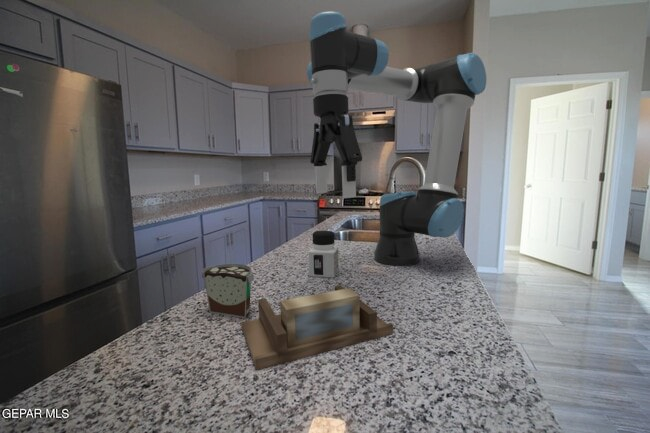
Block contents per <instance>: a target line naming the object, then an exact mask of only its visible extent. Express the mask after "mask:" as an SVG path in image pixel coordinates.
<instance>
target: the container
mask: <svg viewBox="0 0 650 433" xmlns="http://www.w3.org/2000/svg"><path fill="white" fill-rule="evenodd" d="M307 256H308V276H309V277H312V278H313V277H314V278H315V277H316V278H330V279H331V278H335V277H336V276H337V273H338V271H339V245H335V233H334V231H331V230H328V229H320V230H316V231H313V233H312V247H311V248H310V249H309V250H308V254H307Z"/></svg>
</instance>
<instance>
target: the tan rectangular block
mask: <svg viewBox="0 0 650 433" xmlns="http://www.w3.org/2000/svg"><path fill="white" fill-rule="evenodd" d="M360 300H361V299H360V294H359V293H357V292H356V291H354V290H353V289H352V288H350V287H349V288H345V289H342V290H336V291H335V290H331V291H327V292H322V293H321V292H320V293H316V294H312V295H311V294H310V295H305V296H299V297H294V298H290V299H284V300H280V301H279V305H280V306H279V308H280V314H281V325H282V326H283V328H284V330H285V331H286V333H287V348H292V347H296V346H300V345H304V344H308V343H312V342H316V341H320V340H324V339H328V338H332V337H336V336H340V335H344V334H348V333H352V332H356V331H360Z"/></svg>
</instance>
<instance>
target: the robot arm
mask: <svg viewBox="0 0 650 433" xmlns="http://www.w3.org/2000/svg"><path fill="white" fill-rule="evenodd" d="M347 28H348V27H347V23H346V17H345V16H344V15H343V14H342V13H341V12H338V11H323V12H320V13H316V15H314V16H313V17H312V19H311V20H310V23H309V47H310V50H309V51H310V62H309V63H308V65H307V68H306V76H307V80H308V82H309V83H310V85H311V86H312V95H313V96H314V97H313V100H312V101H313V102H312V103H313V107H312V108H313V115H314V116H315V117H319V118H320V122H317V123H316V122H314V124H313V140H312V146H311V154H310V161H309V162H310V163H311V164H313V166H314V171H315V172H314V176H315V177H314V178H315V192H316V194H325V193H327V194H328V191H329V189H328V172H327V171H328V170H327V165H328V164H327V162H326V160H327V157H328V154H329V150H330V147H331V145H332V143H334V145H335V147H336V149H337V151H338V153H339V156H340V158H341V160H342V161H341V164H340V165H341V182H342V183H341V185H342V187H341V188H342V198H343V199H351V198H352V199H353V198H357V185H356V181H357V180H356V178H357V176H356V175H357V173H356V165H357V164H358V163H359V162H362V161H363V156H362V152H361V149H360V146H359V142H358V139H357V135H356V131H355V129H354V122H353V115H351V114H348V113H349V111H350V110H349V97H348V96H347V94H349V90H356V91H362V92H370V93H377V94H383V95H388V96H395V97H396V98H397V99H399V100H401V101H404V102H405V101H407V102H412V103H420V104H421V103H423V104H433V105H434V106H435V108H436V114H435V118H434V124H433V130H432V136H431V142H430V148H429V153H428V159H427V164H426V171H425V176H424V182H423V184H422V186H420V187H419V188H418V189H417V193H416V191H414V190H413V191H402V192H395V193H394V192H392V193H385V194H382V195H381V197H380V199H379V200H380V201H379V206H378V208H379V236H378V241H377V243H376V247H375V250H374V256H373V257H374V258H373V259H374V261H376V262H378V263H380V264H383V265H384V264H385V265H389V266H411V265H416V264H418V263H419V262H420V251H419V249H418V245H417V242H416V238H415V234H419V235H425V236H430V237H432V238H449V237H451V236H453V235H454V234H455V233H456V232H457V231H458V230H459V228H460V226H461V224H462V222H463V219H464V212H465V210H464V204H463V202H462V201H461V200H460V199H459V198H458V197H459V193H458V191H457V190H456V189H455V183H456V177H457V171H458V165H459V161H460V154H461V148H462V143H463V142H462V141H463V137H464V136H463V135H464V131H465V125H466V119H467V113H468V110H469V109H470V108H471V107H473V106H474V104H475V100H476V99H475V98H476V96H478V95H480V94H482V93H483V92H484V91H485V89H486V87H487V72H486V68H485V65H484V62H483V60H482V58H481V57H480V56H479V55H478V54H476V53H474V52H467V53H464V54H458V55H457V56H454V57H451V58H448V59H444V60H442V61H441V60H440V61H438V62H435V63H431V64H428V65H425V66H420V67H417V68H411V67H404V68H403V69H400V68H396V67H391V66H387V65H388V62H389V58H390V55H389V49H388V46H387V45H386V43H385V42H383V41H382V40H379V39H377V38H375V37H370V36H366V35H363V34H359V33H356V32H352V31H350V30H347Z"/></svg>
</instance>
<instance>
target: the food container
mask: <svg viewBox="0 0 650 433" xmlns="http://www.w3.org/2000/svg"><path fill="white" fill-rule="evenodd" d="M201 278H202V279H203V280H204V281H203V282H204V287H205V293H206V299H207V304H208V311H209V313H212V314H217V315H219V314H220V315H225V316H230V317H235V318H236V317H237V318H242V319H247V318H248V316H249V315H250V313H251V312H250V311H251V285H252V282H253V281H254V280H255V276H254V273H253V270H252V268H251V266H249V265H247V264H243V263H220V264H216V265H210V266H206V267H204V268H202V271H201Z"/></svg>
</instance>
